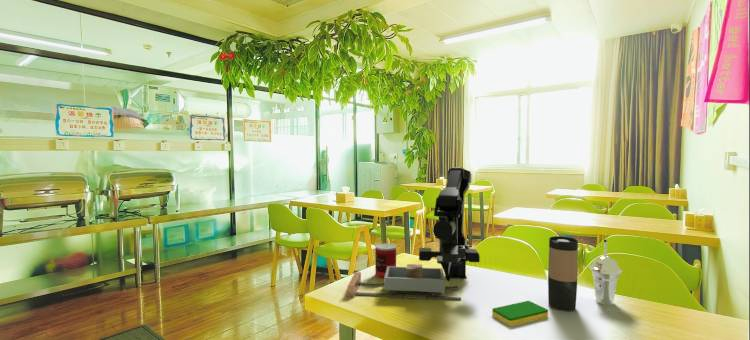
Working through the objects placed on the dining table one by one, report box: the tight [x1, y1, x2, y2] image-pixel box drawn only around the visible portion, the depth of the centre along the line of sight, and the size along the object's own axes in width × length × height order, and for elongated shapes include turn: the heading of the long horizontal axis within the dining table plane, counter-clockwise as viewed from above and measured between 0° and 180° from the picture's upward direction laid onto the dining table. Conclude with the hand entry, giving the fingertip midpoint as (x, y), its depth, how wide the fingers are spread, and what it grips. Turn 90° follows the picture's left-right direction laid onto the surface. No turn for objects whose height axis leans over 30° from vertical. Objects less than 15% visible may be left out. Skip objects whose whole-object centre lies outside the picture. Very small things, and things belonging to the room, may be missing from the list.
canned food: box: [374, 243, 397, 280], centre depth 133 cm, size 8×8×11 cm
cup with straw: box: [588, 239, 623, 306], centre depth 109 cm, size 8×9×20 cm
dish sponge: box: [491, 300, 549, 327], centre depth 100 cm, size 7×14×2 cm, turn 113°
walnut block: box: [406, 263, 423, 278], centre depth 117 cm, size 5×5×5 cm
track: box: [347, 271, 462, 301], centre depth 118 cm, size 35×13×4 cm, turn 83°
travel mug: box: [547, 235, 579, 312], centre depth 106 cm, size 8×8×20 cm
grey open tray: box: [383, 266, 446, 296], centre depth 117 cm, size 19×12×6 cm, turn 83°
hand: (448, 281), depth 116 cm, fingers closed
